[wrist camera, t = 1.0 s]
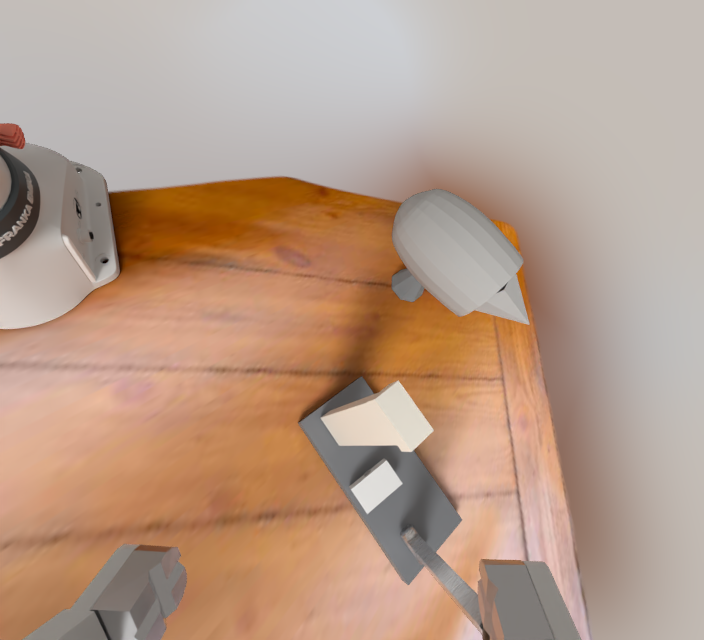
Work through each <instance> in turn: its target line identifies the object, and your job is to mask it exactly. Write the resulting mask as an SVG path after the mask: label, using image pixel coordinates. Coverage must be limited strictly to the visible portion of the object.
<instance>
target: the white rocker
mask: <svg viewBox="0 0 704 640" xmlns="http://www.w3.org/2000/svg"><path fill="white" fill-rule="evenodd" d="M402 484H403V483H402V482H401V480H400V479H399V478H398V476H397V475H396V473H395V472H394V470H393V469H392V467H391V466H390V464H389V463H388V462H387V460H386V459H384V458H383V459H382V460H381V461H380V462H379V463H377V464H376V465H375V466H374V467H372V468H371V469H370V470H368V471H366V472H365V473H364V475H363V476H362V477H360V478H359V479H358V480H357V481H355V482H354V483H353V484H352V485H351V486H349V487H350V489H351V491H352V492H353V494H354V495H355V497H356V498H357V500H358V501H359V503H360V504H361V506H362V507H363V509H364V510H365V512H366V513H367V514H368V513H369V512H370V511H372V510H373V509H374V508H375V507H376V506H377V505H379V504H380V503H381V502H382V501H383V500H384V499H386V498H387V497H388V496H389V495H390V494H391V493H392V492H394V491H395V490H396V489H397V488H398V487H399V486H401V485H402Z"/></svg>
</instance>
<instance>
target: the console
mask: <svg viewBox="0 0 704 640" xmlns="http://www.w3.org/2000/svg"><path fill="white" fill-rule="evenodd" d="M373 394H374V393H373V391H372V390H371V389H370V387H369V386H368V384H367V383H366V381H365V380H364V379H363V377H362V376H361V377H360V378H358V379H357V380H355V381H354V382H352V383H351V384H350V385H348V386H347V387H346V388H344V389H343V390H342V391H340V392H339V393H338V394H336V395H335V396H334V397H332V398H331V399H330V400H328V401H327V402H326V403H324V404H323V405H322V406H320V407H319V408H318V409H316V410H315V411H314V412H312V413H311V414H310V415H308V416H307V417H305V418H304V419H303V420H301V421H300V422H299V423H298V424H299V425H300V427H301V428H302V430H303V431H304V433H305V434H306V436H307V437H308V439H309V440H310V442H311V443H312V445H313V446H314V448H315V449H316V451H317V452H318V454H319V455H320V457H321V458H322V460H323V461H324V463H325V464H326V466H327V467H328V469H329V471H330V472H331V474H332V475H333V477H334V478H335V480H336V481H337V483H338V484H339V486H340V487H341V489H342V490H343V492H344V493H345V495H346V496H347V498H348V499H349V501H350V502H351V504H352V505H353V507H354V508H355V510H356V511H357V513H358V514H359V516H360V517H361V519H362V520H363V522H364V523H365V525H366V526H367V528H368V529H369V531H370V532H371V534H372V535H373V537H374V538H375V540H376V541H377V543H378V544H379V546H380V547H381V549H382V550H383V552H384V553H385V555H386V556H387V558H388V559H389V561H390V562H391V564H392V565H393V567H394V568H395V570H396V571H397V573H398V574H399V576H400V577H401V579H402V580H403V581H404V582H405V583H406V584H407V585H409V584H410V583H411V582H412V580H413V579H414V578H415V577H416V576H417V574H418V573H419V572H420V571H421V569H422V568H423V567H424V565H423V564H422V565H421V564H419V563H418V561H417V560H416V558H415V557H414V555H413V554H412V552H411V551H410V549H409V548H408V546H407V545H406V544H405V542H404V541H403V539H402V538H401V536H400V532H401V530H402V529H403V528H404V527H405V526H407V525H410V524H411V525H412V526H413V527H414V528H415V530H416V531H417V533H418V534H419V536H420V537H421V538H422V539H423V540H424V541H425V542H426V543H427V544H428V545H429V546H430V547H431V548H432V549H433V550H434V551H435V552H436V551H437V550H438V549H439V548H440V546H441V545H442V544H443V543H444V542H445V540H446V539H447V538H448V537H449V535H450V534H451V533H452V532H453V531H454V529H455V528H456V527H457V526H458V525H459V523H460V522H461V521H462V519H461V517H460V516H459V515H458V513H457V512H456V510H455V509H454V507H453V506H452V504H451V503H450V502H449V500H448V499H447V497H446V496H445V494H444V493H443V492H442V490H441V489H440V487H439V486H438V484H437V483H436V482H435V480H434V479H433V477H432V476H431V474H430V473H429V472H428V470H427V469H426V467H425V466H424V464H423V463H422V462H421V460H420V459H419V457H418V456H417V454H416V453H415V452H414V450H413V451H412V452H401V450H400V449H399V447H398V446H397V445H387V446H339V445H338V443H337V442H336V441H335V439H334V438H333V436H332V435H331V433H330V432H329V430H328V429H327V427H326V426H325V424H324V423H323V421H322V420H321V417H322V416H324V415H325V414H326V413H327V412H329V411H330V410H333V409H336V408H338V407H341V406H344V405H346V404H349V403H352V402H354V401H357V400H360V399H362V398H365V397H368V396H370V395H373ZM383 458H384V459H386V460H387V462H388V463H389V464H390V466H391V467H392V469H393V470H394V472H395V473H396V475H397V476H398V478H399V479H400V480H401V482H402V483H403V484H402V485H401V486H399V487H398V488H397V489H396V490H395V491H394V492H392V493H391V494H390V495H389V496H388V497H387V498H386V499H384V500H383V501H382V502H381V503H380V504H379V505H377V506H376V507H375V508H374V509H373V510H372V511H370V512H369V513H368V514H367V513H366V512H365V510H364V509H363V507H362V506H361V504H360V503H359V501H358V500H357V498H356V497H355V495H354V494H353V492H352V491H351V489H350V487H349V486H351V485H352V484H353V483H354V482H355V481H357V480H358V479H359V478H360V477H362V476H363V475H364V473H365V472H366V471H368V470H370V469H371V468H372V467H374V466H375V465H376V464H377V463H379V462H380V461H381V460H382V459H383Z"/></svg>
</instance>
